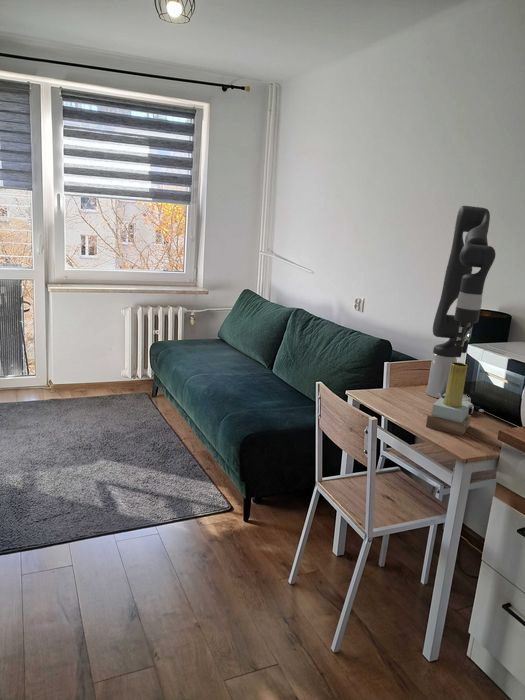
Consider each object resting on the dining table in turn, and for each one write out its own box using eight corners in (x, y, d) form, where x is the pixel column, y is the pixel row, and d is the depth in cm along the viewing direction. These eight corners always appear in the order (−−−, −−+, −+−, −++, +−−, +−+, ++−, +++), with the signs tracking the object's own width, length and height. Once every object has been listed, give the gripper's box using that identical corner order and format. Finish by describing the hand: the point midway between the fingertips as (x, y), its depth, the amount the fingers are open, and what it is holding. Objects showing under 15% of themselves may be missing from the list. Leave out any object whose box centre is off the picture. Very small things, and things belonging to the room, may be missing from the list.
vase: (465, 407, 188) (472, 366, 184) (451, 408, 185) (458, 366, 182) (453, 401, 193) (460, 361, 190) (439, 401, 191) (445, 361, 187)
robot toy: (484, 418, 205) (464, 402, 219) (487, 407, 204) (467, 391, 218) (453, 418, 203) (435, 401, 217) (456, 406, 202) (438, 390, 216)
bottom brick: (434, 417, 199) (436, 406, 198) (469, 426, 193) (471, 415, 192) (425, 426, 189) (427, 415, 188) (462, 435, 183) (464, 424, 182)
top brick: (438, 408, 197) (440, 397, 196) (467, 415, 192) (469, 404, 191) (431, 415, 188) (433, 404, 187) (461, 423, 183) (463, 411, 182)
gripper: (476, 310, 173) (467, 360, 177) (484, 306, 185) (475, 353, 189) (451, 307, 177) (443, 356, 181) (461, 303, 189) (453, 349, 193)
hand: (460, 354), depth 185 cm, fingers open, 8 cm apart
